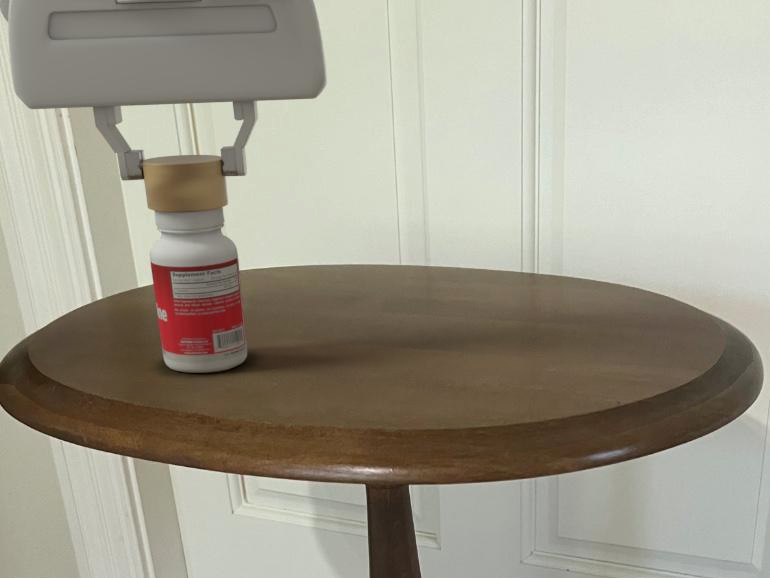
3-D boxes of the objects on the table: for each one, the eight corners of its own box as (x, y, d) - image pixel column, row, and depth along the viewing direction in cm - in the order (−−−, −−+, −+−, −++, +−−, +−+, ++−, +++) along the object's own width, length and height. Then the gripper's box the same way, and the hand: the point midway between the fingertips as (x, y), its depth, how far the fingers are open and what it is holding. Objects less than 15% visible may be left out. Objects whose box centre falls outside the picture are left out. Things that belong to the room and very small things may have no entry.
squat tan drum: (141, 213, 72) (134, 165, 71) (155, 201, 77) (149, 156, 76) (223, 210, 73) (218, 162, 71) (232, 198, 77) (228, 153, 76)
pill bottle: (173, 352, 83) (154, 200, 78) (253, 350, 83) (239, 198, 78) (156, 376, 78) (133, 213, 72) (241, 374, 77) (225, 211, 72)
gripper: (-29, -57, 65) (19, 189, 71) (315, -69, 65) (331, 177, 71) (3, -50, 70) (44, 177, 77) (319, -61, 71) (333, 166, 77)
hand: (185, 177), depth 74 cm, fingers closed on squat tan drum, 5 cm apart
